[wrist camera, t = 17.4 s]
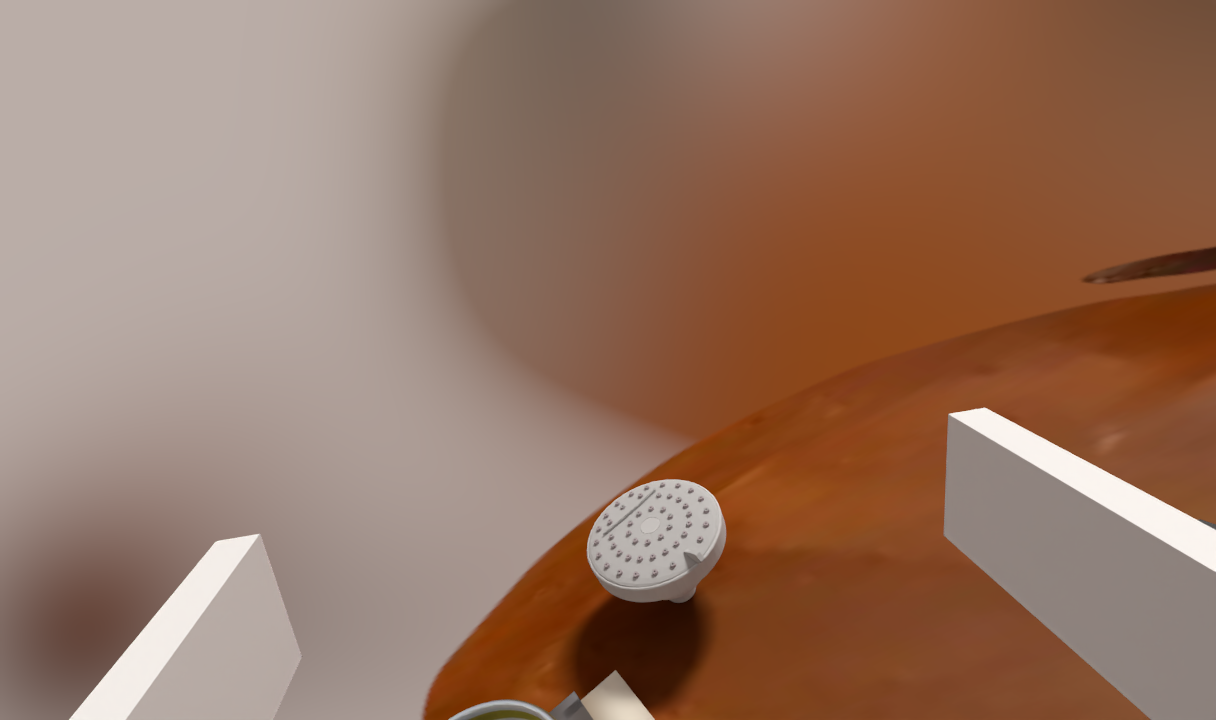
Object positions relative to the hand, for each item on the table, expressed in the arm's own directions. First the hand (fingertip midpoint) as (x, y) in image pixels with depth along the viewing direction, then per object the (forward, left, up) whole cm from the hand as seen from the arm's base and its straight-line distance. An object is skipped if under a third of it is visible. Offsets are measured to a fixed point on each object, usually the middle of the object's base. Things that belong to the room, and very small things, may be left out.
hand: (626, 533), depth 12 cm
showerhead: (-7, -21, -28) cm, 36 cm away
